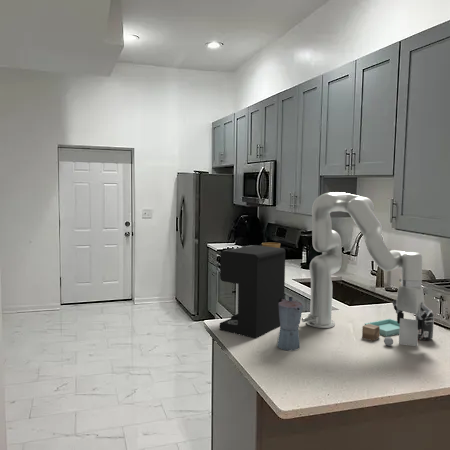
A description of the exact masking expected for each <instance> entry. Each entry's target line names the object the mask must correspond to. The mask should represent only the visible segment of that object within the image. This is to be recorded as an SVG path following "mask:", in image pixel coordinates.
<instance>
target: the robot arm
mask: <svg viewBox="0 0 450 450" xmlns="http://www.w3.org/2000/svg"><path fill="white" fill-rule="evenodd" d="M374 209H375V205H374V202H373V201H372V199H370V198H369V197H365V196H362V195H361V196H360V195H358V194H357V195H356V194H351V193H348V192H347V193H346V192H344V191H343V192H342V191H341V192H339V191H335V192H334V191H332V192H331V191H329V192H325V193H323V194H320V195H319V196H317V197H316V198H315V199H314V201H313V203H312V207H311V219H312V220H311V221H312V223H311V228H312V229H311V236H312V237H311V238H312V239H311V240H312V243H311V244H312V247H313V250H315V251H316V252H318V253H321V254H320V255H316V256H314V257H313V258H312V259H311V261H310V263H309V276H310V302H309V303H310V306H309V308H310V309H309V314H307V315H308V316H307V317H306V316H305V317H301V322H302V323H306V324H307V326H310V327H313V328H318V329H329V328H333V327H335V325H336V323H335V320H332V314H333V313H332V311H333V308H332V306H333V282H332V281H333V280H332V276H331V275H333V274H335V273H337V272H339V271H340V269H341V267H342V262H343V260H342V259H343V258H342V256H343V255H342V253H343V251H342V238H341V235H340V234H339V232H338V231H336V230H334V229H333V227H332V223H333V222H332V217H331V213H333V212H343V213H348V214H349V215H348V216H350V218H351V219H352V220H353V222H354V223H355V225H356V227H357V228H358V229H359V231H360V232H361V234H362V236H363V239H364V243H365V246H366V249H367V250H368V251H367V252H368V253H369V254H370V256H371V258H372V260H373V261H374V262H375V264H376V266H378V268H380V269H381V270H382V271H384V272H391V271H393V270H397V269H400V271H401V272H400V274H401V275H400V278H399V283H400V285H399V286H398V290H397V293H396V294H397V296H396V299H394V300H392V302H391V303H392V306H393V309H394V311H395V313H396V321H397V323H398V324H399V323H400V318H403V319H405V318H404V317H405V316H404V315H405V313H408V314H413V315H416V314H417V316H418V317H419V319H418V329H419V330H421V329H424V327H425V319H426V318H427V317H428V316H429V314H430V312H431V310H432V309H431V308H429V307H428V306H427V305H426V304H425V293H424V289H423V287H422V283H423V281H422V278H423V277H422V276H423V275H422V274H423V272H422V271H423V256H422V254H421V252H417V251H416V252H415V251H402V250H398V249H391V250H390V249H389V248H388V246H387V245H386V243H385V241H384V239H383V236H382V233H383V226H382V223H381V222H380V221H379V220H380V219H378V218H377V216H376V215H375V213H374ZM424 310H425V314H424ZM421 315H422V316H421Z"/></svg>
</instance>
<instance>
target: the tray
mask: <svg viewBox="0 0 450 450" xmlns="http://www.w3.org/2000/svg"><path fill="white" fill-rule="evenodd" d="M367 324H372V325H376V326H380V331H379V335H380V336H384V337H385V338H386V337H391V336H394V335H399V327H400V323H399V324H398V323H397V320H395V319H392V318H386V319H380V320H377V321H370V322H366V323H364V325H367Z"/></svg>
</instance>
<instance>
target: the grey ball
mask: <svg viewBox="0 0 450 450" xmlns="http://www.w3.org/2000/svg"><path fill="white" fill-rule="evenodd" d="M383 343H384V345H386V346H388V347H391V346H393V344H394V339H393V338H392V337H391V336H387V337H386V336H385V338H383Z"/></svg>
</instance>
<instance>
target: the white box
mask: <svg viewBox="0 0 450 450" xmlns="http://www.w3.org/2000/svg"><path fill="white" fill-rule="evenodd" d="M418 340H419V339H418V320H416V319H411V318H404V319H403V318H400V327H399V334H398V344H399V345H403V346H404V345H405V346H411V347H412V346H413V347H417V346H418Z"/></svg>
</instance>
